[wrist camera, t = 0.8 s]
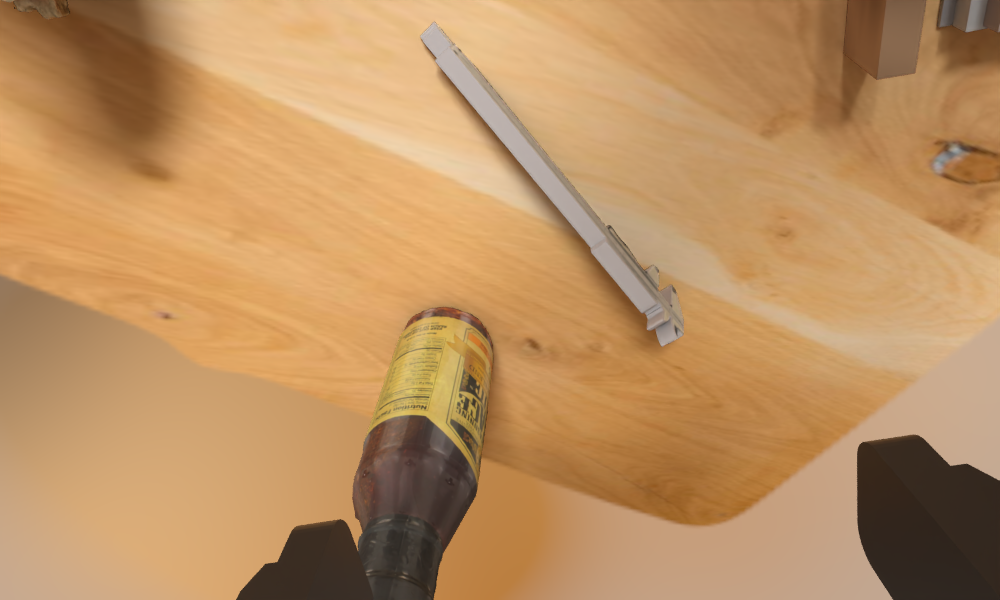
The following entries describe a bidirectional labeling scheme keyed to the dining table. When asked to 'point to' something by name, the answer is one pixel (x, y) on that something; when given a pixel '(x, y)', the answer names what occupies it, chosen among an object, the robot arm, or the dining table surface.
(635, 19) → the dining table surface
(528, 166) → the caliper
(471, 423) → the sauce bottle
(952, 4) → the bottom offcut
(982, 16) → the middle offcut
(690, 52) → the dining table surface
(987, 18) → the top offcut
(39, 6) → the owl figurine
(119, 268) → the dining table surface
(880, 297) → the dining table surface
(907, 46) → the walnut frame
